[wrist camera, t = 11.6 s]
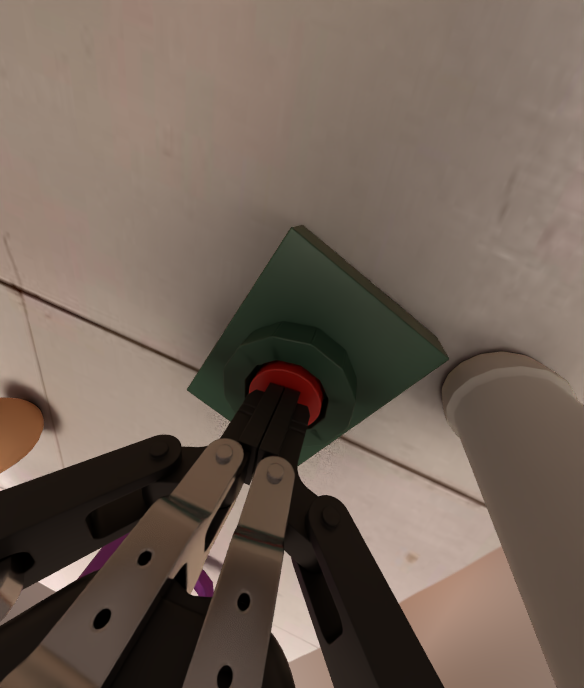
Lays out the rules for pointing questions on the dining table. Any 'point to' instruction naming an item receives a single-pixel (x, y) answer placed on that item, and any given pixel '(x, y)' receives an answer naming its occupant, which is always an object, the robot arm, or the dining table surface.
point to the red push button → (292, 384)
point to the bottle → (530, 488)
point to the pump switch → (319, 339)
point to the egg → (18, 430)
